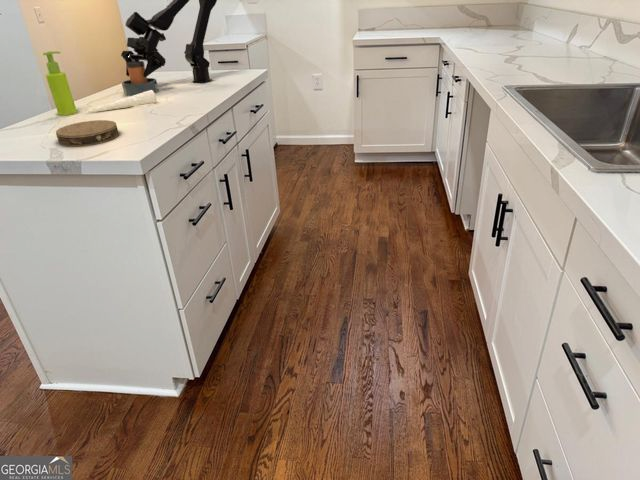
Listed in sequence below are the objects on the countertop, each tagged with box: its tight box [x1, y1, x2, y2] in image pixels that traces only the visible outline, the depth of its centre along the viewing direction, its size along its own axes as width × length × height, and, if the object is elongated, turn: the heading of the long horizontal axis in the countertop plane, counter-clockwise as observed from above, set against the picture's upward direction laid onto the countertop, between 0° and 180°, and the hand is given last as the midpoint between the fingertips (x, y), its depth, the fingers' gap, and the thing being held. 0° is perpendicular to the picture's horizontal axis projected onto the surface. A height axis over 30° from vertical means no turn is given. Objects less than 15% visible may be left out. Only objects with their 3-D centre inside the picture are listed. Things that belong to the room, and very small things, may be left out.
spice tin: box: [125, 60, 148, 84], centre depth 179 cm, size 7×7×12 cm
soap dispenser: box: [42, 50, 78, 116], centre depth 152 cm, size 6×7×20 cm
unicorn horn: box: [87, 90, 158, 113], centre depth 160 cm, size 5×24×5 cm, turn 118°
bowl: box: [121, 77, 159, 97], centre depth 181 cm, size 13×13×5 cm
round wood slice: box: [55, 119, 120, 148], centre depth 128 cm, size 16×16×3 cm
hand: (135, 76), depth 178 cm, fingers open, 9 cm apart
